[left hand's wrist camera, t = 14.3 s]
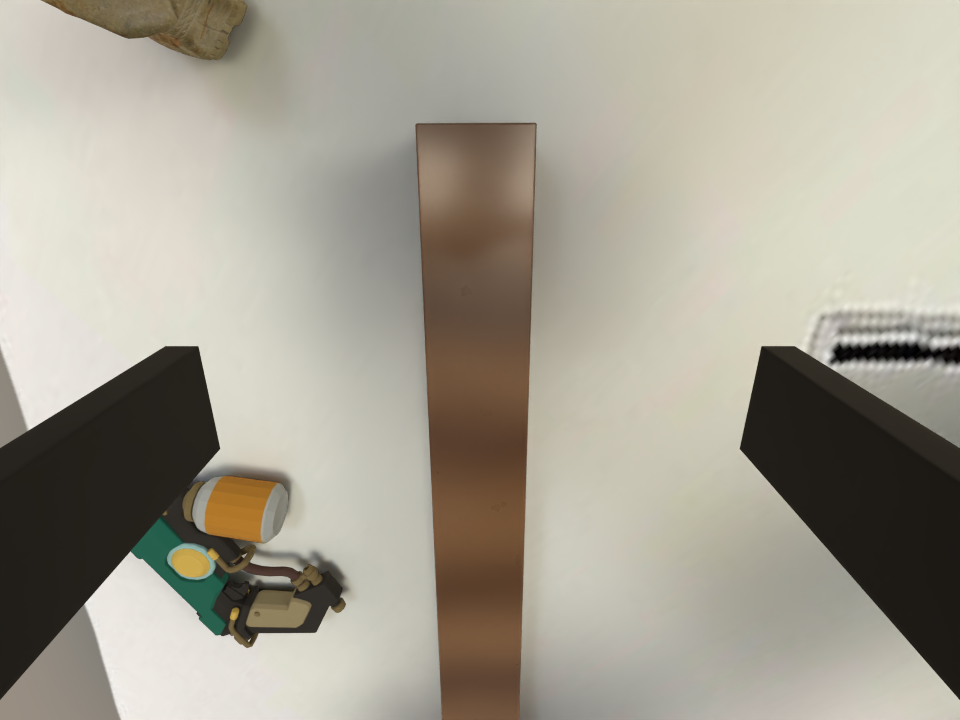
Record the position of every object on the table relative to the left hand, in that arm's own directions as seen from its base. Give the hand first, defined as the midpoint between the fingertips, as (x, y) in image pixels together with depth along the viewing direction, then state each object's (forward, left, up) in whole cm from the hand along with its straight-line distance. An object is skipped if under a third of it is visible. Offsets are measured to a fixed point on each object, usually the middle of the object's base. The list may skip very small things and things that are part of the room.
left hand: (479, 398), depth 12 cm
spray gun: (+23, -19, -23) cm, 38 cm away
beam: (+20, 0, -23) cm, 30 cm away
